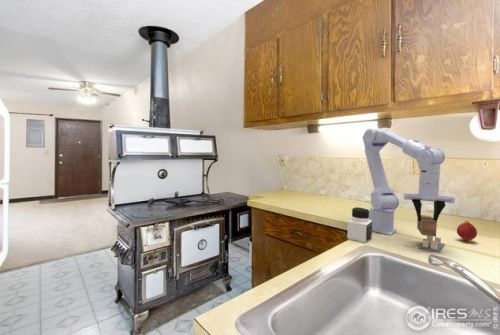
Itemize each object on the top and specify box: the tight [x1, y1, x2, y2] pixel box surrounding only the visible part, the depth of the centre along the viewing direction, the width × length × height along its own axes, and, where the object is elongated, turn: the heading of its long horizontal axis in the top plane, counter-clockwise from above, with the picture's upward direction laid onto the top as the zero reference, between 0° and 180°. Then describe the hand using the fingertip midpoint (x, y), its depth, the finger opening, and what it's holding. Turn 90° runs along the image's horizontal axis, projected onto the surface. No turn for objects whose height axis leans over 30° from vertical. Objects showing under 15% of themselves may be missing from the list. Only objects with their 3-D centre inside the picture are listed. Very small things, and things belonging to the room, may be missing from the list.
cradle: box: [418, 235, 446, 254], centre depth 90 cm, size 10×6×3 cm, turn 134°
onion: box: [456, 220, 478, 242], centre depth 95 cm, size 6×6×8 cm
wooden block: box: [416, 214, 438, 238], centre depth 90 cm, size 10×4×5 cm, turn 154°
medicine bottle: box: [347, 206, 373, 244], centre depth 98 cm, size 7×7×12 cm
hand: (426, 221), depth 89 cm, fingers closed on wooden block, 4 cm apart
